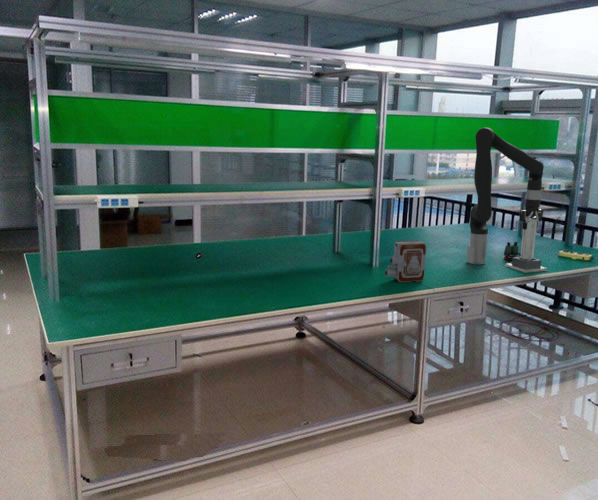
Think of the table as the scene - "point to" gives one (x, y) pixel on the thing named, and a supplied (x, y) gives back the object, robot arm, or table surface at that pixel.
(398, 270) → the cine camera
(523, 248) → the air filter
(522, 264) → the mount
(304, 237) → the table surface
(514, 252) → the binoculars
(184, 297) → the table surface
